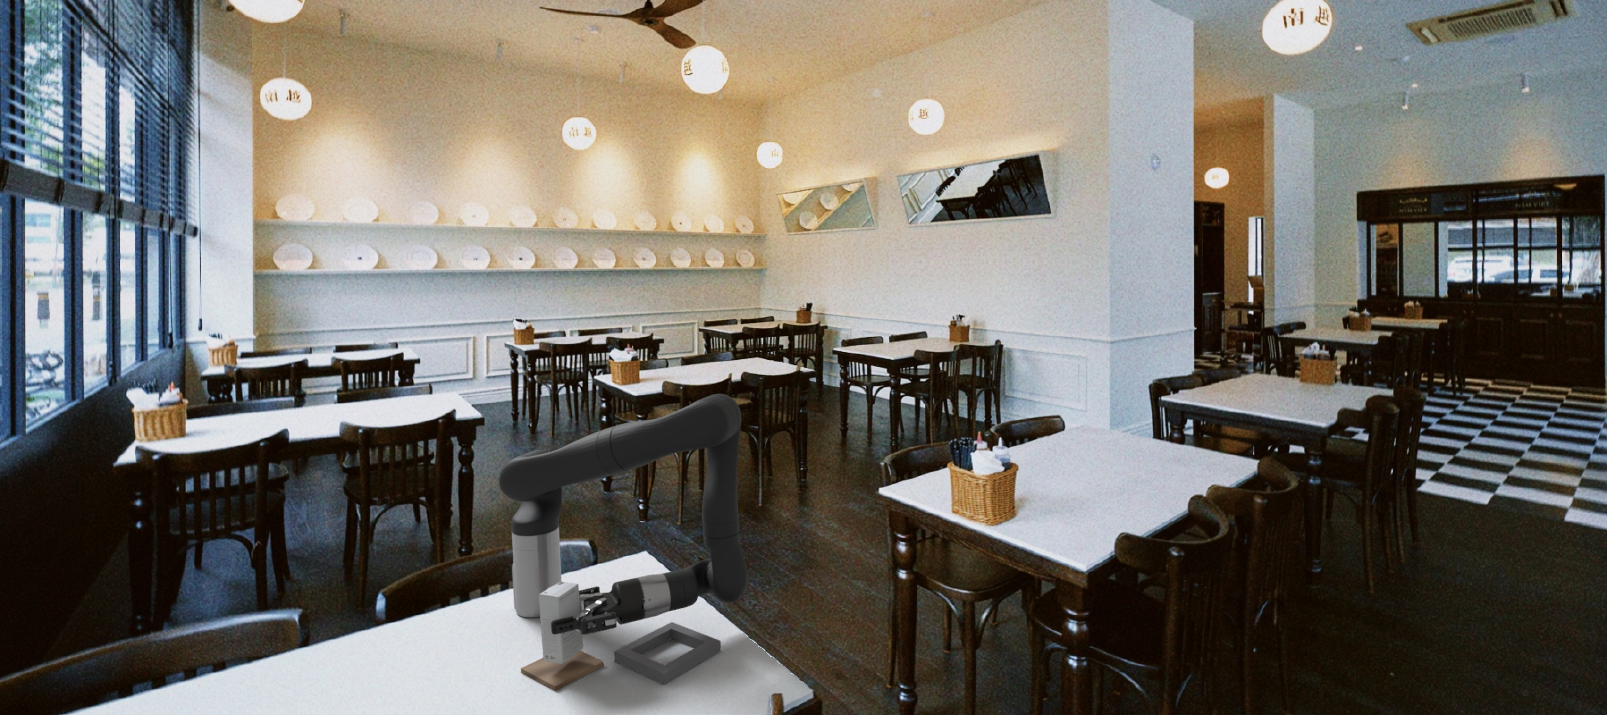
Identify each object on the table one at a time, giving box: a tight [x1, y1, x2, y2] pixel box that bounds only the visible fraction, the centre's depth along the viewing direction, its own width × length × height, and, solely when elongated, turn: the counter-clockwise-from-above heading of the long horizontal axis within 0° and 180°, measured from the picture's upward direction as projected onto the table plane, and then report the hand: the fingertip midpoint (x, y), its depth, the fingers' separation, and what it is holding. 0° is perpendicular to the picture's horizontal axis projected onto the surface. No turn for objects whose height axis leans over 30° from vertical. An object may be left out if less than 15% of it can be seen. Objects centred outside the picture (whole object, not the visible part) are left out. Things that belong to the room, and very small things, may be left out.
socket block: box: [613, 621, 722, 686], centre depth 135 cm, size 13×14×2 cm
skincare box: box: [539, 581, 584, 664], centre depth 130 cm, size 6×4×12 cm
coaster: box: [520, 650, 605, 692], centre depth 131 cm, size 10×10×1 cm
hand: (548, 619), depth 129 cm, fingers closed on skincare box, 7 cm apart
